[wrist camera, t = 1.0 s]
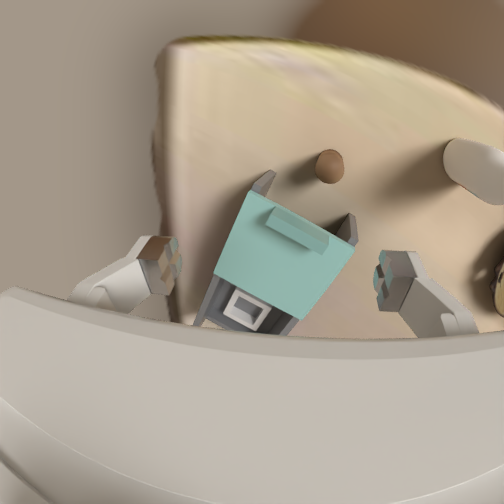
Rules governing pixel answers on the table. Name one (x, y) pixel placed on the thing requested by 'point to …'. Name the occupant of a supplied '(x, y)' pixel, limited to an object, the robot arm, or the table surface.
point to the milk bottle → (476, 169)
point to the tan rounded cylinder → (329, 166)
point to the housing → (247, 305)
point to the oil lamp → (498, 288)
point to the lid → (281, 256)
